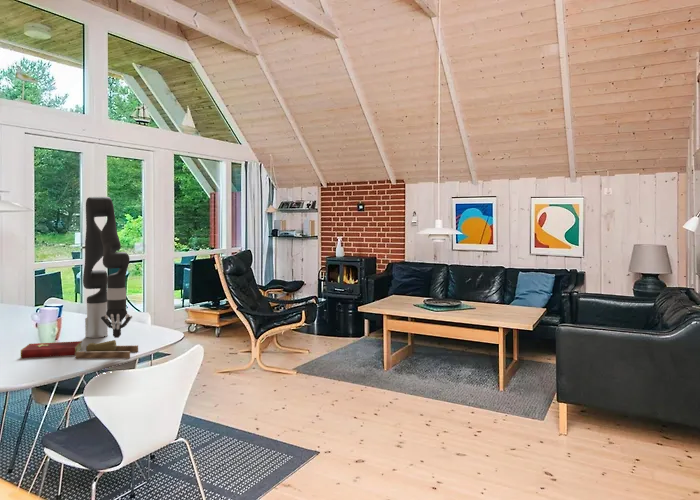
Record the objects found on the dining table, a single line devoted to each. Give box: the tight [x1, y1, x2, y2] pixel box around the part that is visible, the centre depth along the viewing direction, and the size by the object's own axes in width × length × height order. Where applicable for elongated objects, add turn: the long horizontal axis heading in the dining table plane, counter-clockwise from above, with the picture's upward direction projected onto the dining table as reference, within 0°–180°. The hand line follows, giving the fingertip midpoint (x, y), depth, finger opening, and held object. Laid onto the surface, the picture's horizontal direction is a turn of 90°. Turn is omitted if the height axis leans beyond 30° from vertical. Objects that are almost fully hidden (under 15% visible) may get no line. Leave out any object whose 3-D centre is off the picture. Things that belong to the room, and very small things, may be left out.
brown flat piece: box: [75, 344, 139, 359], centre depth 220 cm, size 22×11×2 cm, turn 94°
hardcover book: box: [20, 340, 83, 359], centre depth 221 cm, size 12×21×4 cm, turn 107°
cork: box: [86, 339, 117, 351], centre depth 220 cm, size 6×6×11 cm
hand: (117, 337), depth 220 cm, fingers closed
